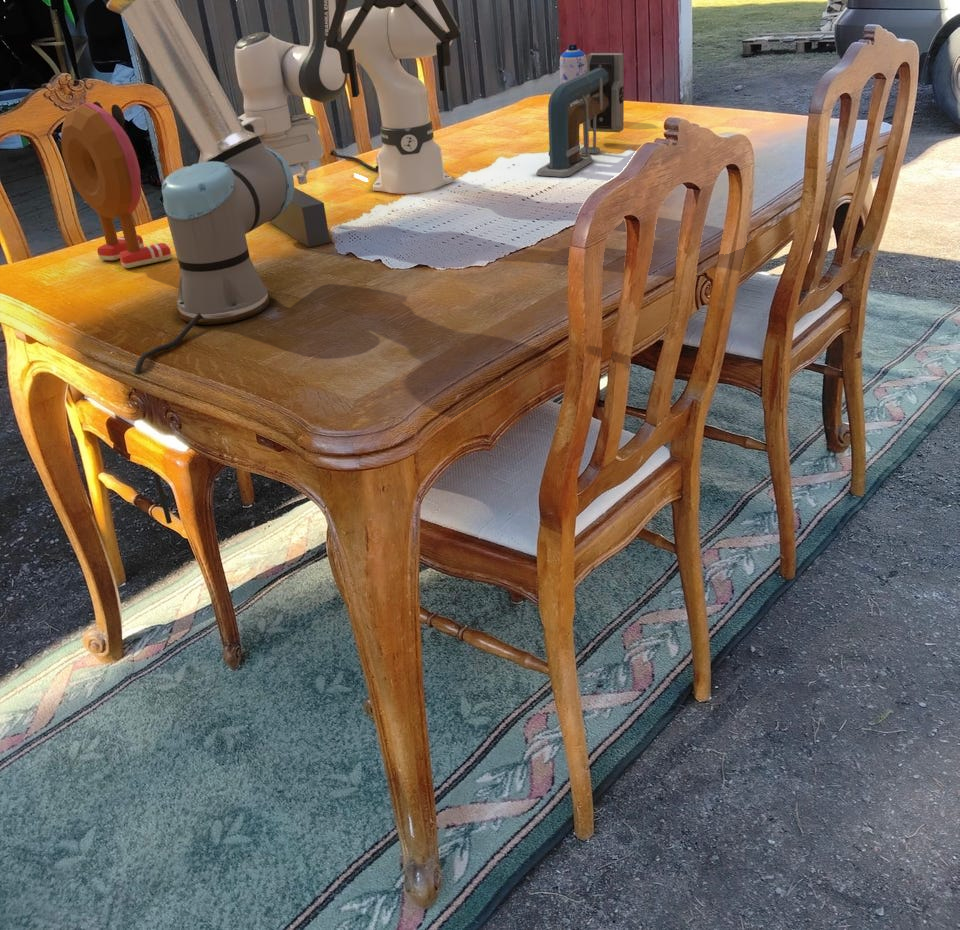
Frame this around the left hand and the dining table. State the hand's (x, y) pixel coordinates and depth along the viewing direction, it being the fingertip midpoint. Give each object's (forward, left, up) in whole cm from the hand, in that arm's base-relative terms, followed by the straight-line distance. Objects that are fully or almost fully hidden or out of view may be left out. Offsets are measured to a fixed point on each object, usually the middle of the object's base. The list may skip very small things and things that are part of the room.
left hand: (399, 92), depth 149 cm
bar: (+31, +39, -33) cm, 59 cm away
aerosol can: (+137, +2, -33) cm, 141 cm away
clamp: (+92, -9, -33) cm, 98 cm away
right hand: (+36, +44, -25) cm, 62 cm away
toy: (+12, +66, -33) cm, 75 cm away
